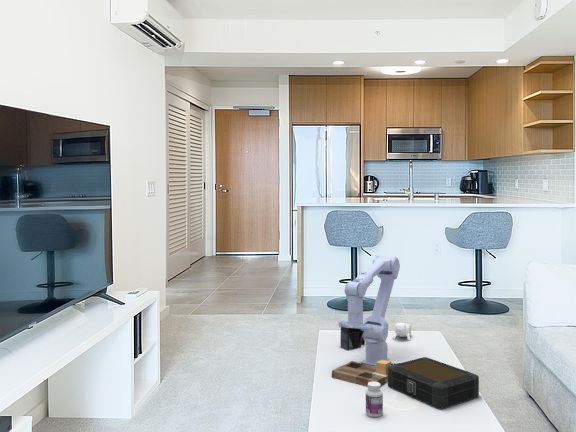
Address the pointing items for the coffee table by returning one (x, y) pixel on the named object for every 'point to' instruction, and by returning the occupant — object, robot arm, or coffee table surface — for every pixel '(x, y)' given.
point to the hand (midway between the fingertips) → (355, 347)
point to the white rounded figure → (402, 330)
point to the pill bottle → (374, 400)
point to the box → (346, 339)
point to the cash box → (433, 382)
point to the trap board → (359, 374)
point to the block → (382, 367)
